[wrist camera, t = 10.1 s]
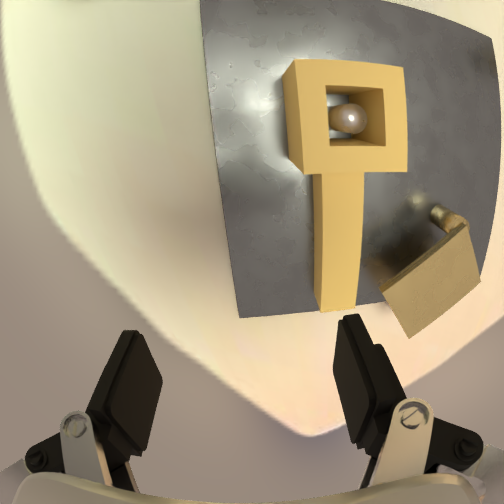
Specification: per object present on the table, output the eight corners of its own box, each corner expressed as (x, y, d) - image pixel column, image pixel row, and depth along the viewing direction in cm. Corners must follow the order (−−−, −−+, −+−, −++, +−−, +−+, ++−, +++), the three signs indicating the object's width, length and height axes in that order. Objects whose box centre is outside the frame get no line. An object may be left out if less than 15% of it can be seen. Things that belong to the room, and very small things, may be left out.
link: (281, 75, 17) (294, 59, 12) (365, 77, 17) (402, 67, 12) (295, 294, 25) (305, 340, 20) (362, 286, 25) (385, 327, 20)
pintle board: (200, 0, 15) (185, -32, 10) (488, 38, 14) (524, 34, 9) (241, 324, 27) (239, 368, 22) (473, 289, 26) (498, 316, 21)
